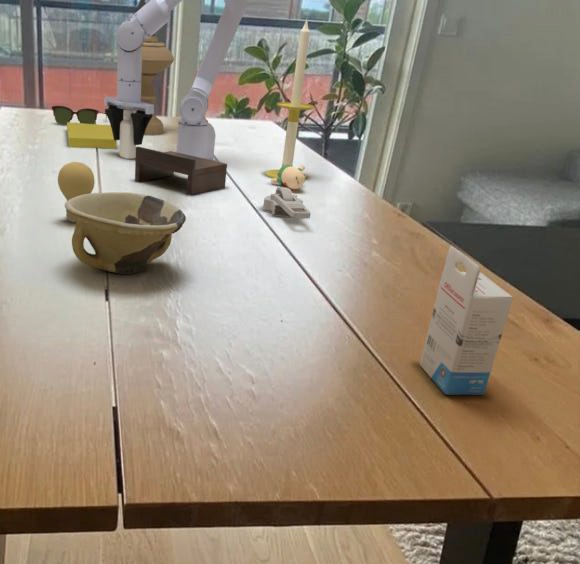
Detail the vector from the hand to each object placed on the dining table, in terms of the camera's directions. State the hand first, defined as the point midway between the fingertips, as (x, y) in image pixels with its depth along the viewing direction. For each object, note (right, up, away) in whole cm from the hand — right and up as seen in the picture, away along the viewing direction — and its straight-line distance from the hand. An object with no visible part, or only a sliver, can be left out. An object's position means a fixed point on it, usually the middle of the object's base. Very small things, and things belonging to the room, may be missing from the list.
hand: (127, 142), depth 189 cm
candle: (+38, -10, -5) cm, 40 cm away
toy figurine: (+37, -17, -15) cm, 44 cm away
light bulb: (-6, -36, -50) cm, 62 cm away
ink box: (+44, -71, -98) cm, 129 cm away
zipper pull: (+34, -32, -38) cm, 60 cm away
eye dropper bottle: (0, -3, +2) cm, 4 cm away
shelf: (+13, -18, -20) cm, 30 cm away
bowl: (+4, -51, -71) cm, 87 cm away
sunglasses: (-17, +24, +41) cm, 50 cm away
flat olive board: (-11, +9, +19) cm, 24 cm away
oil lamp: (+3, +18, +35) cm, 40 cm away
